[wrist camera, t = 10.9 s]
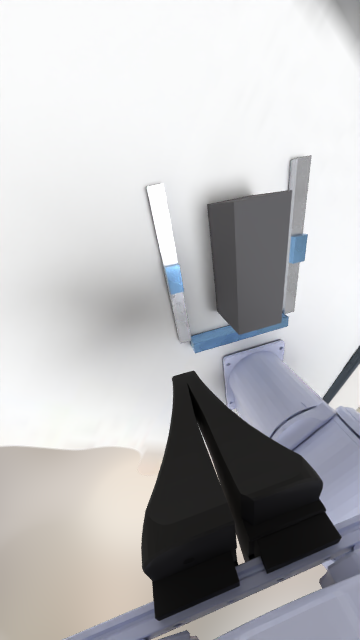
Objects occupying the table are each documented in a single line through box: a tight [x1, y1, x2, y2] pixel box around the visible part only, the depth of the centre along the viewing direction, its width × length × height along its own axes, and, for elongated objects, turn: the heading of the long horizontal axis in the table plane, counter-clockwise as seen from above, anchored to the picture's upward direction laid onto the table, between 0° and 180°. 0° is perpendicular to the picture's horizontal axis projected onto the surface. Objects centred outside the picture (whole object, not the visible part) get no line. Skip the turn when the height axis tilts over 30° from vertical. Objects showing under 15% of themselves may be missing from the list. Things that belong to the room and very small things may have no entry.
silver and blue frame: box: [146, 156, 311, 353], centre depth 20 cm, size 15×25×2 cm, turn 100°
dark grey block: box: [208, 190, 292, 335], centre depth 18 cm, size 10×4×5 cm, turn 10°
